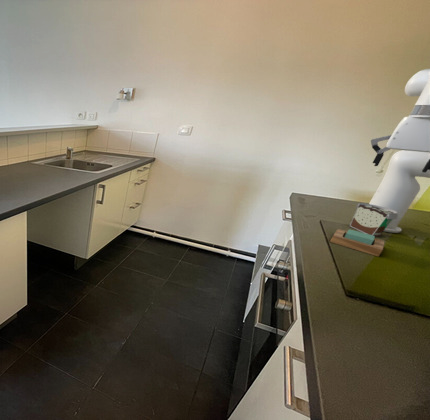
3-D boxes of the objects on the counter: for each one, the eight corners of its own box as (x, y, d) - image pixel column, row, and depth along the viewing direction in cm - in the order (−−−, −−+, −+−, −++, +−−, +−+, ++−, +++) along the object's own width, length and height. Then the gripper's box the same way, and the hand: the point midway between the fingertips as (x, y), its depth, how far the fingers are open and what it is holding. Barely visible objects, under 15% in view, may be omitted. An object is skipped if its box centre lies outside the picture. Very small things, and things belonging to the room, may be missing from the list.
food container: (395, 240, 90) (411, 215, 86) (375, 238, 91) (390, 213, 87) (363, 226, 101) (376, 204, 97) (346, 224, 102) (358, 202, 98)
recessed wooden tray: (334, 234, 92) (338, 228, 91) (380, 247, 84) (384, 241, 83) (329, 241, 86) (333, 235, 85) (378, 256, 78) (382, 249, 77)
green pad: (343, 238, 89) (349, 229, 88) (368, 246, 85) (375, 235, 83) (341, 243, 86) (346, 233, 84) (367, 250, 81) (373, 240, 80)
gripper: (483, 114, 69) (444, 173, 75) (386, 112, 82) (360, 162, 88) (488, 113, 65) (446, 176, 71) (385, 111, 78) (357, 164, 84)
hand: (398, 168), depth 80 cm, fingers open, 9 cm apart
